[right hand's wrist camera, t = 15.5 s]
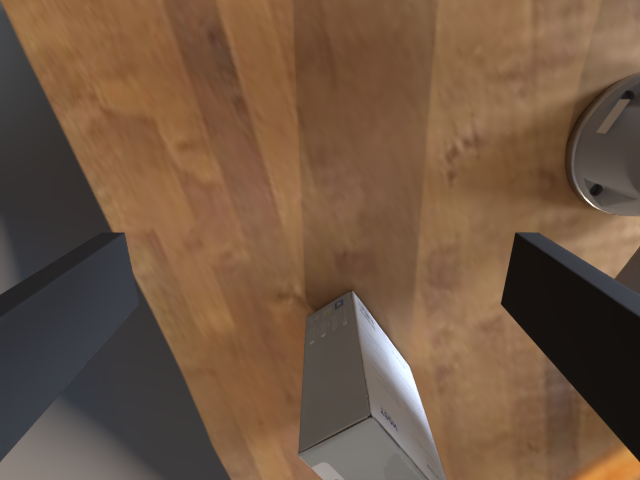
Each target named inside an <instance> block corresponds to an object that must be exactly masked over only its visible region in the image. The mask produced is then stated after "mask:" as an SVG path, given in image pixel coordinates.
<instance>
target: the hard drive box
mask: <svg viewBox="0 0 640 480" xmlns="http://www.w3.org/2000/svg"><path fill="white" fill-rule="evenodd" d="M297 455H298V456H299V457H300V458H301V459H302V460H303V461H304V462H305V463H306V464H307V465H308V466H309V467H310V468H311V469H312V470H313V471H314V472H315V473H316V474H317V475H318V476H319V477H320V478H321V479H322V480H447V479H446V475H445V472H444V469H443V466H442V463H441V460H440V457H439V454H438V451H437V448H436V445H435V442H434V439H433V436H432V433H431V430H430V427H429V424H428V421H427V418H426V415H425V412H424V409H423V406H422V403H421V400H420V397H419V394H418V391H417V388H416V385H415V382H414V378H413V376H412V373H411V370H410V367H409V366H408V364H407V363H406V362H405V360H404V359H403V358H402V356H401V355H400V353H399V352H398V351H397V349H396V348H395V347H394V345H393V344H392V343H391V341H390V340H389V339H388V337H387V336H386V335H385V333H384V332H383V331H382V329H381V328H380V327H379V325H378V324H377V322H376V321H375V320H374V318H373V317H372V316H371V314H370V313H369V311H368V310H367V309H366V307H365V306H364V305H363V304H362V302H361V301H360V299H359V298H358V297H357V295H356V294H355V293H354V291H352V292H350V291H349V292H347V293H346V294H344V295H342V296H341V297H339V298H337V299H336V300H334V301H332V302H331V303H329V304H327V305H326V306H324V307H323V308H321V309H319V310H318V311H316V312H314V313H313V314H311V315H309V316H308V317H307V318H306V331H305V347H304V366H303V384H302V401H301V419H300V435H299V452H298V454H297Z"/></svg>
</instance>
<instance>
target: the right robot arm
mask: <svg viewBox="0 0 640 480" xmlns="http://www.w3.org/2000/svg"><path fill="white" fill-rule="evenodd" d="M565 165H566V174H567V178H568V181H569V183H570V186H571V187H572V189H573V191H574V192H575V194H576V195H577V196H578V197H579V198H580V199H581V200H582V201H583V202H585V203H586V204H588V205H589V206H592V207H594V208H596V209H599V210H601V211H604V212H607V213H610V214H615V215H622V216H640V73H637V74H633V75H631V76H628V77H626V78H624V79H622V80H620V81H618V82H616V83H615V84H613V85H611V86H610V87H609V88H607V89H606V90H605V91H603V92H602V93H601V94H600V95H599V96H597V97H596V98H595V99H594V100H593V101H592V102H591V104H590V105H589V106H588V107H587V108H586V109H585V111H584V112H583V113H582V115H581V116H580V118H579V119H578V121H577V123H576V125H575V127H574V129H573V131H572V133H571V136H570V139H569V142H568V146H567V150H566V160H565ZM138 305H139V301H138V296H137V291H136V286H135V281H134V276H133V272H132V267H131V262H130V257H129V252H128V247H127V243H126V238H125V233H100V234H99V235H97V236H95V237H94V238H92V239H90V240H89V241H87V242H86V243H84V244H82V245H81V246H79V247H77V248H76V249H74V250H72V251H71V252H69V253H68V254H66V255H64V256H63V257H61V258H59V259H58V260H56V261H55V262H53V263H51V264H50V265H48V266H46V267H45V268H43V269H42V270H40V271H38V272H37V273H35V274H33V275H32V276H30V277H29V278H27V279H25V280H24V281H22V282H20V283H19V284H17V285H16V286H14V287H12V288H11V289H9V290H7V291H6V292H4V293H3V294H1V295H0V462H1V461H2V459H3V458H4V457H5V456H6V455H7V454H8V453H9V451H10V450H11V449H12V448H13V447H14V446H15V445H16V443H17V442H18V441H19V440H20V439H21V438H22V437H23V435H24V434H25V433H26V432H27V431H28V430H29V429H30V428H31V426H32V425H33V424H34V423H35V422H36V421H37V420H38V418H39V417H40V416H41V415H42V414H43V413H44V412H45V410H46V409H47V408H48V407H49V406H50V405H51V404H52V403H53V401H54V400H55V399H56V398H57V397H58V396H59V395H60V393H61V392H62V391H63V390H64V389H65V388H66V387H67V385H68V384H69V383H70V382H71V381H72V380H73V379H74V378H75V376H76V375H77V374H78V373H79V372H80V371H81V370H82V368H83V367H84V366H85V365H86V364H87V363H88V362H89V360H90V359H91V358H92V357H93V356H94V355H95V354H96V353H97V351H98V350H99V349H100V348H101V347H102V346H103V345H104V343H105V342H106V341H107V340H108V339H109V338H110V337H111V335H112V334H113V333H114V332H115V331H116V330H117V329H118V327H119V326H120V325H121V324H122V323H123V322H124V321H125V320H126V318H127V317H128V316H129V315H130V314H131V313H132V312H133V310H134V309H135V308H136V307H137V306H138ZM501 305H502V306H503V307H504V308H505V309H506V310H507V312H508V313H509V314H510V315H511V316H512V317H513V318H514V320H515V321H516V322H517V323H518V324H519V325H520V326H521V327H522V329H523V330H524V331H525V332H526V333H527V334H528V335H529V337H530V338H531V339H532V340H533V341H534V342H535V343H536V345H537V346H538V347H539V348H540V349H541V350H542V351H543V353H544V354H545V355H546V356H547V357H548V358H549V359H550V360H551V362H552V363H553V364H554V365H555V366H556V367H557V368H558V370H559V371H560V372H561V373H562V374H563V375H564V376H565V378H566V379H567V380H568V381H569V382H570V383H571V384H572V385H573V387H574V388H575V389H576V390H577V391H578V392H579V393H580V395H581V396H582V397H583V398H584V399H585V400H586V401H587V403H588V404H589V405H590V406H591V407H592V408H593V409H594V410H595V412H596V413H597V414H598V415H599V416H600V417H601V418H602V420H603V421H604V422H605V423H606V424H607V425H608V426H609V428H610V429H611V430H612V431H613V432H614V433H615V434H616V435H617V437H618V438H619V439H620V440H621V441H622V442H623V443H624V445H625V446H626V447H627V448H628V449H629V450H630V451H631V453H632V454H633V455H634V456H635V457H636V458H637V459H638V461H639V462H640V247H639V248H638V249H637V251H636V252H635V253H634V255H633V256H632V257H631V259H630V260H629V261H628V263H627V264H626V265H625V266H624V268H623V269H622V270H621V271H620V273H619V274H618V275H617V276H616V278H615V279H613V278H611V277H610V276H608V275H607V274H605V273H603V272H602V271H600V270H598V269H597V268H595V267H594V266H592V265H590V264H589V263H587V262H585V261H584V260H582V259H581V258H579V257H577V256H576V255H574V254H572V253H571V252H569V251H568V250H566V249H564V248H563V247H561V246H559V245H558V244H556V243H554V242H553V241H551V240H550V239H548V238H546V237H545V236H543V235H541V234H540V233H515V238H514V243H513V247H512V252H511V257H510V262H509V267H508V272H507V276H506V281H505V286H504V291H503V296H502V301H501Z"/></svg>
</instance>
